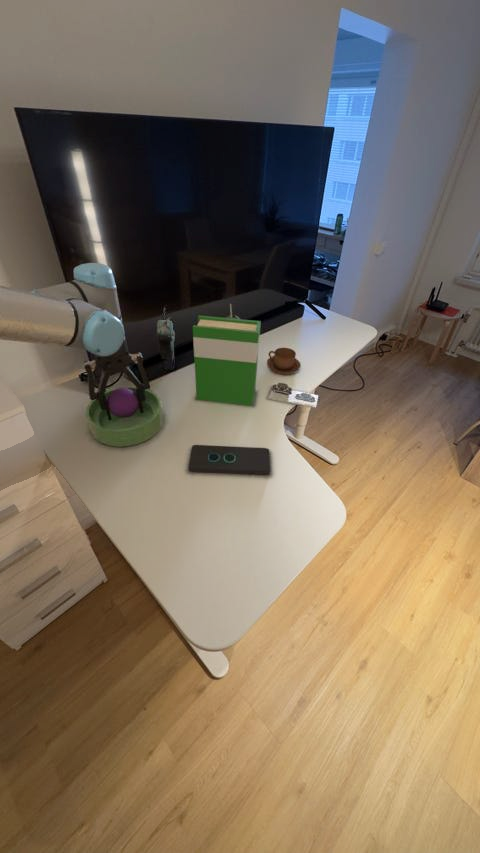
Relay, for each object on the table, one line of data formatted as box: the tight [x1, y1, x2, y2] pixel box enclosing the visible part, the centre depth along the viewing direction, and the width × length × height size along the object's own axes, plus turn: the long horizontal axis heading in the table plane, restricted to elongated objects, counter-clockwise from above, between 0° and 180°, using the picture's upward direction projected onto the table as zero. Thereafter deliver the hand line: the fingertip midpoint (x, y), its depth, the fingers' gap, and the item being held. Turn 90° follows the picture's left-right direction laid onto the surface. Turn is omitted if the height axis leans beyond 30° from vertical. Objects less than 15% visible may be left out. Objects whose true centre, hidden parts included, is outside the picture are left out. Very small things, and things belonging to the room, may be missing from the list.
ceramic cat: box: [156, 306, 175, 371], centre depth 118 cm, size 20×6×20 cm, turn 3°
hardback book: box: [192, 315, 262, 407], centre depth 101 cm, size 18×7×24 cm, turn 83°
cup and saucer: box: [266, 347, 302, 375], centre depth 121 cm, size 12×12×6 cm
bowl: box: [85, 386, 165, 448], centre depth 95 cm, size 20×20×6 cm
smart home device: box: [188, 444, 271, 476], centre depth 87 cm, size 8×2×20 cm
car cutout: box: [268, 382, 319, 409], centre depth 108 cm, size 15×7×4 cm, turn 74°
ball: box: [107, 387, 139, 418], centre depth 92 cm, size 8×8×8 cm
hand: (125, 413), depth 94 cm, fingers closed on ball, 8 cm apart
